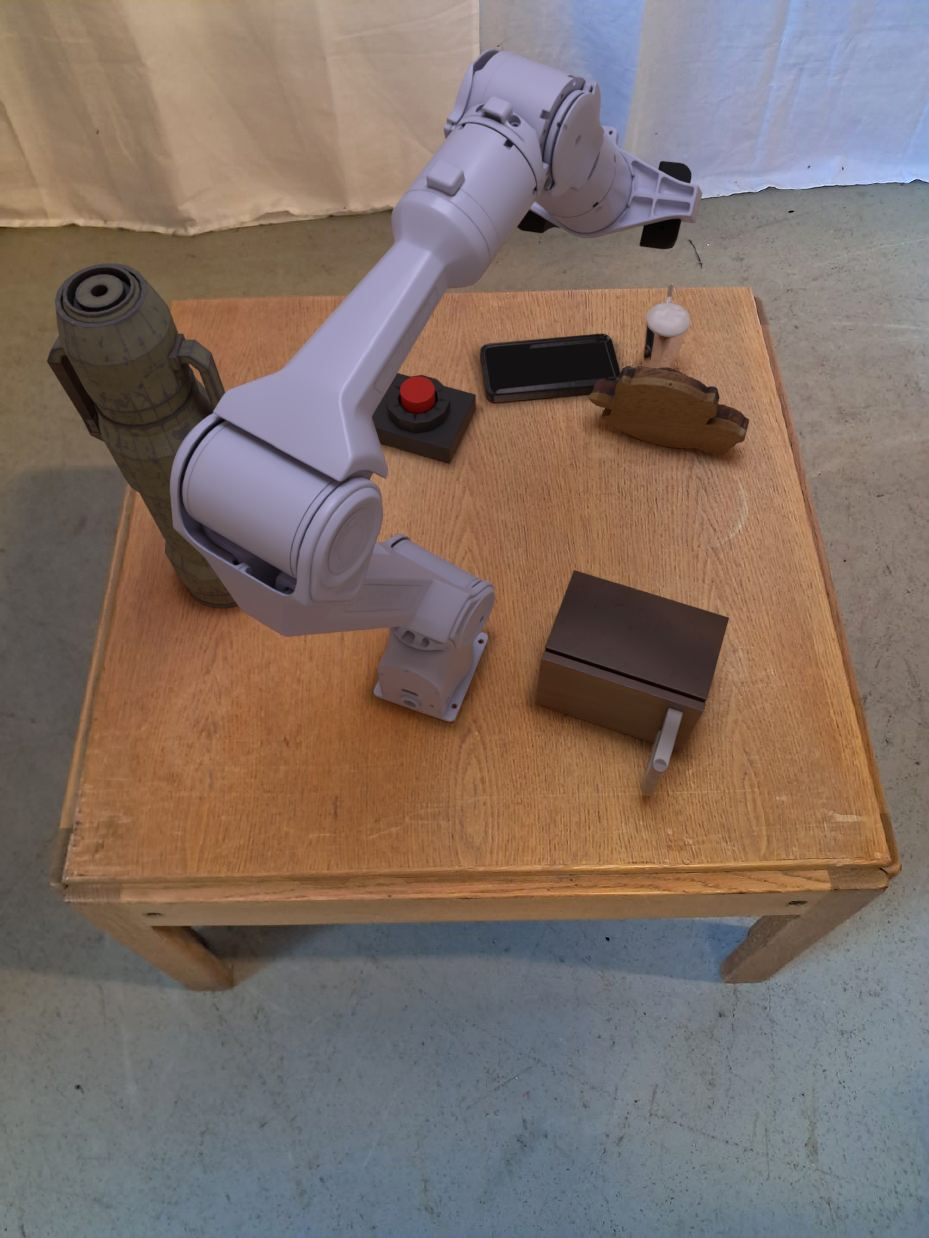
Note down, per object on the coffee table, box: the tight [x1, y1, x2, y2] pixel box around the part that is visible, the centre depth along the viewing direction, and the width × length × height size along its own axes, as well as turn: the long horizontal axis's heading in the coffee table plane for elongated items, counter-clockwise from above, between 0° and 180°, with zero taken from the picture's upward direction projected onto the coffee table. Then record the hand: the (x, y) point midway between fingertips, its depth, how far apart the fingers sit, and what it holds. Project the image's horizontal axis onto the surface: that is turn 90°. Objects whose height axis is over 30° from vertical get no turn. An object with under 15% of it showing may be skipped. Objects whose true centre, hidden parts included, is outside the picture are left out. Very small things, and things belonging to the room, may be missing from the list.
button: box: [400, 377, 435, 414], centre depth 95 cm, size 4×4×2 cm
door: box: [534, 650, 706, 796], centre depth 76 cm, size 6×14×9 cm, turn 69°
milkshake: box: [641, 283, 691, 369], centre depth 98 cm, size 5×5×10 cm
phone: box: [479, 333, 621, 403], centre depth 102 cm, size 8×1×15 cm
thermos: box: [46, 262, 239, 609], centre depth 75 cm, size 9×12×35 cm
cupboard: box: [544, 569, 730, 703], centre depth 80 cm, size 8×14×10 cm, turn 69°
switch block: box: [372, 372, 477, 464], centre depth 97 cm, size 10×8×4 cm
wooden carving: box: [588, 365, 750, 456], centre depth 93 cm, size 16×5×10 cm, turn 76°
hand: (620, 221), depth 71 cm, fingers open, 7 cm apart
